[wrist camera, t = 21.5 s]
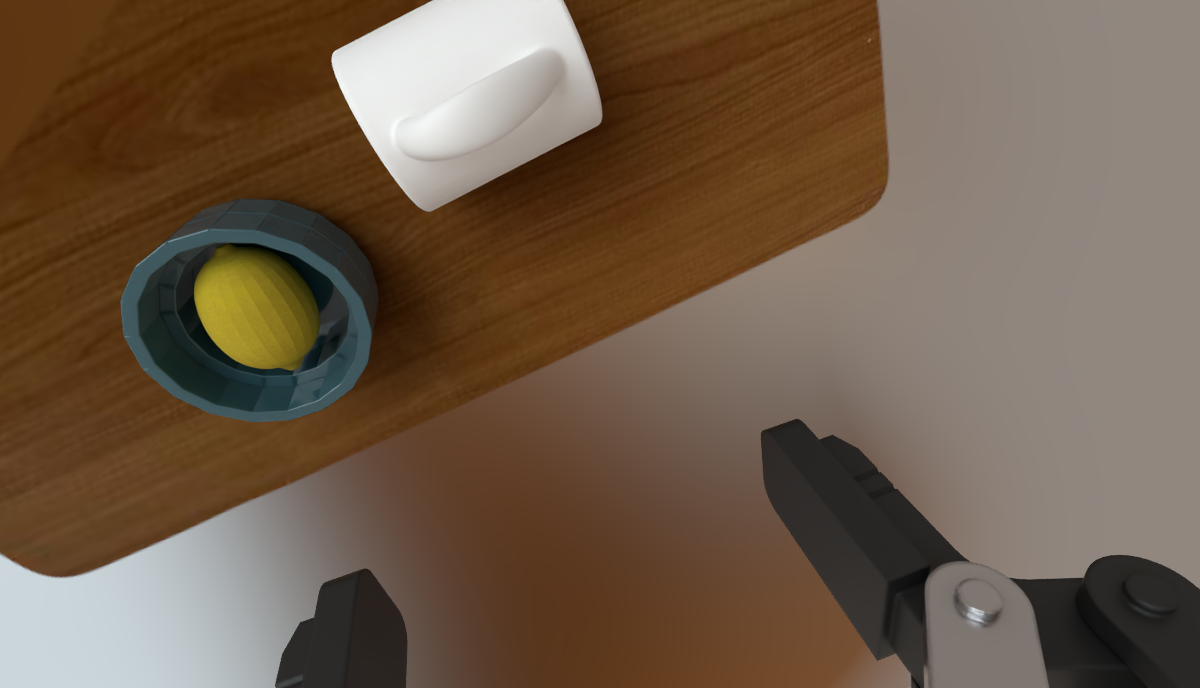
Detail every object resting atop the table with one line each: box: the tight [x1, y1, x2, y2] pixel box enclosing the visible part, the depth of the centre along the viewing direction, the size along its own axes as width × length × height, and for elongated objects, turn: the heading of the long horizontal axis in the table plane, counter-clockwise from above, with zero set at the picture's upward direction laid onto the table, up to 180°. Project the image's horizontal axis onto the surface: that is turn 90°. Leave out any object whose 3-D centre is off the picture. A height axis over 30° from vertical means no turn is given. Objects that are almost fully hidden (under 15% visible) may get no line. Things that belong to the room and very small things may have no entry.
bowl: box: [121, 199, 379, 422], centre depth 32 cm, size 11×12×6 cm
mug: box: [332, 0, 602, 212], centre depth 27 cm, size 8×10×12 cm
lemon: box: [194, 243, 320, 371], centre depth 32 cm, size 6×6×8 cm
